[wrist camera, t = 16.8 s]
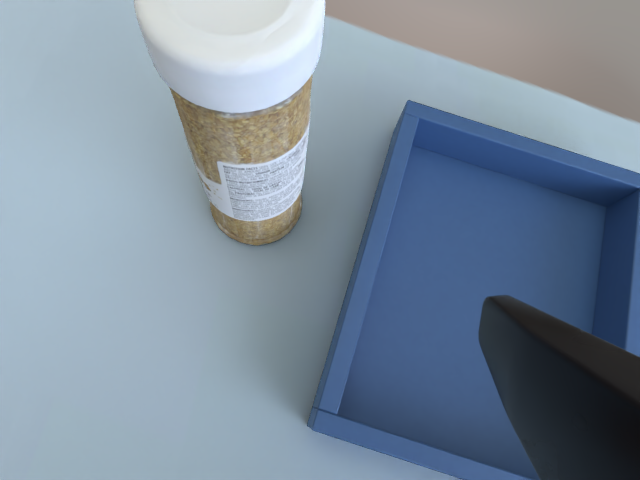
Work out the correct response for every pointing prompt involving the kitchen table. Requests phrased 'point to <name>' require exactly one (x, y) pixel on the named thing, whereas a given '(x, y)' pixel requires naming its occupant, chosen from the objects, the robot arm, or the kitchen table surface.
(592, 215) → the tray
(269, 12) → the sprinkles bottle
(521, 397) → the robot arm
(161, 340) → the kitchen table surface
